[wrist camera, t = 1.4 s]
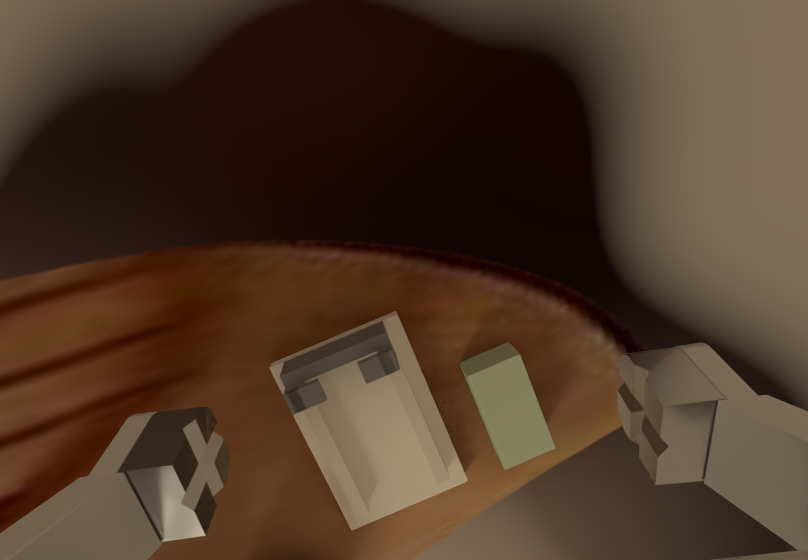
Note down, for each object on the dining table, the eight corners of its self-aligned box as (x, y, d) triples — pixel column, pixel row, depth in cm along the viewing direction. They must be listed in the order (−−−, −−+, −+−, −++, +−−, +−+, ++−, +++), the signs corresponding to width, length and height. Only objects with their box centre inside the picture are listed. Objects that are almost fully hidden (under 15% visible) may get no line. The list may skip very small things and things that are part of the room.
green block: (541, 429, 50) (555, 448, 47) (494, 449, 50) (505, 469, 47) (507, 340, 48) (519, 354, 45) (458, 361, 48) (466, 376, 45)
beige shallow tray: (465, 473, 50) (480, 512, 45) (351, 522, 50) (351, 567, 44) (396, 310, 46) (402, 331, 40) (271, 363, 46) (260, 390, 40)
